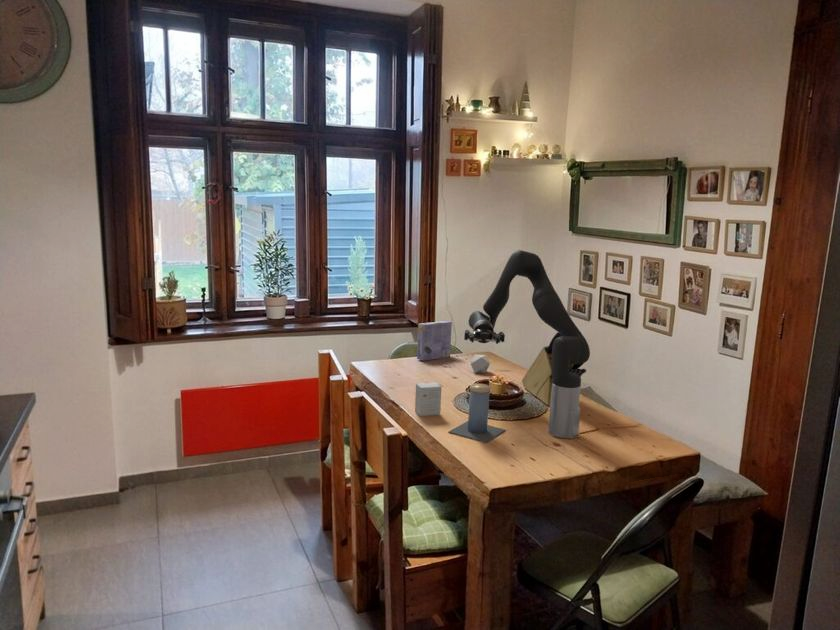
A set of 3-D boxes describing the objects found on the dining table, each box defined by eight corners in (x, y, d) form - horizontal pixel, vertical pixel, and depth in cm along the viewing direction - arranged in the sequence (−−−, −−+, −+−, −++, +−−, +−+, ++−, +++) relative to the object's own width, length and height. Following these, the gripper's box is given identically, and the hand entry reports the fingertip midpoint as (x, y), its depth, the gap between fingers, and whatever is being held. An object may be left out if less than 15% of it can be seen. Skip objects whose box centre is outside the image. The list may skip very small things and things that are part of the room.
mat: (505, 430, 211) (505, 429, 211) (486, 443, 200) (486, 441, 200) (469, 421, 219) (469, 420, 219) (448, 432, 207) (448, 431, 207)
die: (483, 377, 277) (495, 359, 279) (467, 366, 278) (479, 348, 280) (481, 378, 285) (492, 361, 287) (465, 368, 286) (476, 350, 288)
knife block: (557, 414, 230) (564, 332, 224) (520, 386, 263) (526, 314, 258) (585, 413, 232) (593, 331, 227) (545, 386, 266) (551, 314, 260)
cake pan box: (445, 354, 313) (447, 319, 310) (452, 356, 309) (454, 321, 306) (415, 359, 301) (417, 323, 298) (422, 361, 297) (424, 325, 294)
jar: (490, 429, 211) (493, 385, 208) (482, 435, 205) (485, 390, 202) (472, 425, 214) (474, 382, 211) (464, 431, 208) (466, 387, 205)
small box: (435, 409, 229) (436, 381, 228) (440, 414, 224) (442, 386, 222) (414, 411, 227) (415, 383, 225) (419, 416, 222) (420, 387, 220)
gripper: (464, 320, 234) (465, 328, 218) (503, 322, 233) (506, 330, 217) (463, 339, 235) (463, 349, 219) (501, 341, 235) (504, 352, 219)
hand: (485, 340), depth 218 cm, fingers open, 8 cm apart
